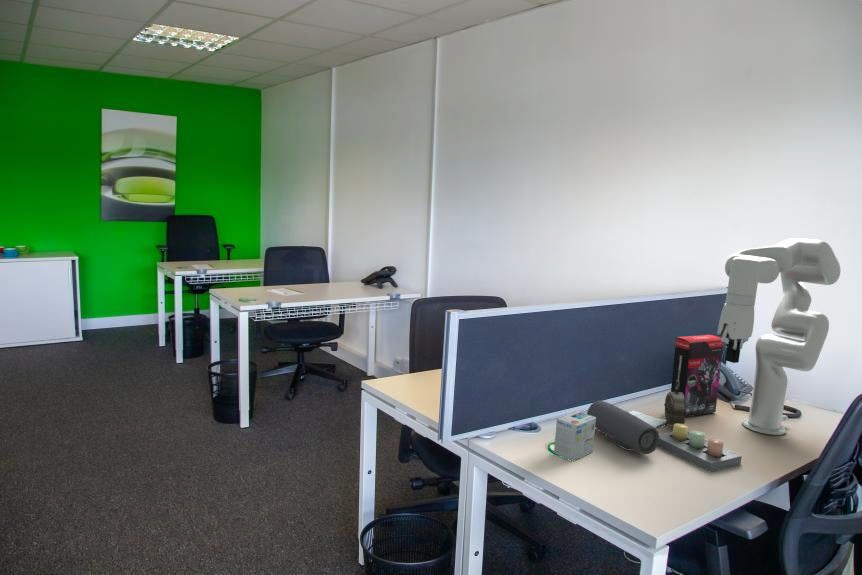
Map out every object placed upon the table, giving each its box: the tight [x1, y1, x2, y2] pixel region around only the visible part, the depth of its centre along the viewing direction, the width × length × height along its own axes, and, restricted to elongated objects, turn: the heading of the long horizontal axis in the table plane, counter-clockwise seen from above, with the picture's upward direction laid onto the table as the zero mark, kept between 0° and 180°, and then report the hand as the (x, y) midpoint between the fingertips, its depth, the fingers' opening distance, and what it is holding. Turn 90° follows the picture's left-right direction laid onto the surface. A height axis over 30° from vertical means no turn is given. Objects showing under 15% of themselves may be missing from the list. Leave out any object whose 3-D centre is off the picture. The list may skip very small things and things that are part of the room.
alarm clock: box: [663, 380, 687, 427], centre depth 194 cm, size 11×5×16 cm, turn 169°
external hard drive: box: [628, 410, 667, 430], centre depth 200 cm, size 2×8×12 cm
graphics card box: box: [670, 334, 724, 418], centre depth 209 cm, size 17×7×27 cm, turn 117°
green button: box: [689, 430, 706, 449], centre depth 175 cm, size 4×4×4 cm
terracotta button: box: [706, 438, 725, 458], centre depth 170 cm, size 4×4×4 cm
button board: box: [657, 431, 743, 472], centre depth 175 cm, size 13×20×2 cm, turn 28°
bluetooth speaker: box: [586, 399, 660, 455], centre depth 180 cm, size 23×9×10 cm, turn 23°
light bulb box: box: [553, 410, 596, 462], centre depth 170 cm, size 11×7×11 cm, turn 134°
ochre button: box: [672, 423, 689, 441], centre depth 180 cm, size 4×4×4 cm
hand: (731, 361), depth 177 cm, fingers closed
